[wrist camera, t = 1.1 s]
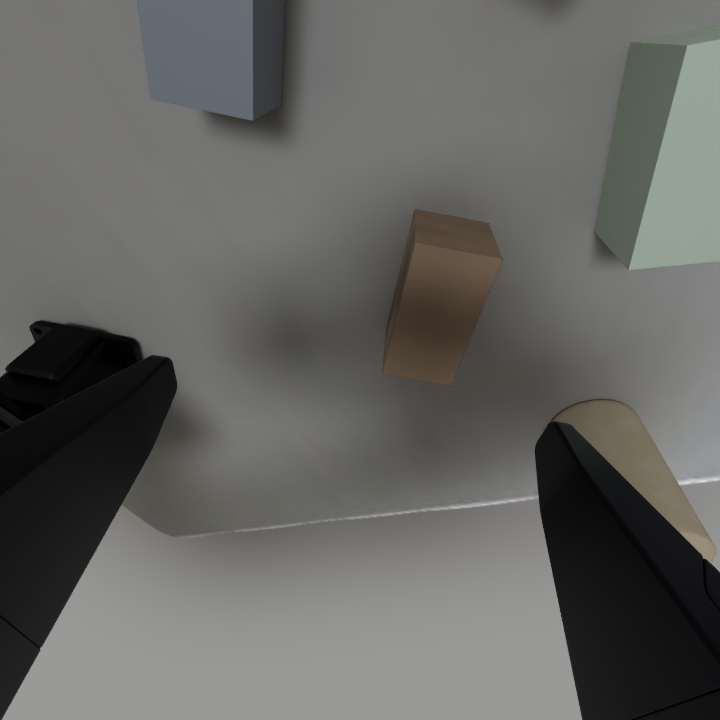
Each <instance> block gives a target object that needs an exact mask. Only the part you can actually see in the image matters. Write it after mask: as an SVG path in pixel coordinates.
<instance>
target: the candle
mask: <svg viewBox="0 0 720 720" xmlns="http://www.w3.org/2000/svg"><path fill="white" fill-rule="evenodd" d="M552 421H558V422H564V423H568V424H571V425H572V426H573V427H574V428H575V429H576V430H577V431H578V432H579V433H580V434H581V435H582V436H583V437H584V438H585V439H586V440H587V441H588V442H589V443H590V444H591V445H592V446H593V447H594V448H595V449H596V450H597V451H598V452H599V453H600V454H601V455H602V456H603V457H604V458H605V459H606V460H607V461H608V462H609V463H610V464H611V465H612V466H613V467H614V468H615V469H616V470H617V471H618V472H619V473H620V474H621V475H622V476H623V477H624V478H625V479H626V480H627V481H628V482H629V483H630V484H631V485H632V486H633V487H634V488H635V489H636V490H637V491H638V492H639V493H640V494H641V495H642V496H643V497H644V498H645V499H646V500H647V501H648V502H649V503H650V504H651V505H652V506H653V507H654V508H655V509H656V510H657V511H658V512H660V513H661V514H662V515H663V516H664V517H665V518H666V519H667V520H668V521H669V522H670V523H671V524H672V525H673V526H674V527H675V528H676V529H677V530H678V531H679V532H680V533H681V534H682V535H683V536H684V537H685V538H686V539H687V540H688V541H689V542H690V543H691V544H692V545H693V546H694V547H695V548H696V549H697V550H698V551H699V552H700V553H701V554H702V556H703V559H707V560H708V561H709V562H710V563H711V564H712V562H713V560H714V557H715V555H716V547H715V545H714V544H713V542H712V540H711V538H710V537H709V535H708V533H707V532H706V530H705V528H704V527H703V525H702V523H701V521H700V520H699V518H698V516H697V515H696V513H695V511H694V510H693V508H692V506H691V504H690V503H689V501H688V499H687V498H686V496H685V495H684V493H683V491H682V489H681V488H680V486H679V484H678V482H677V481H676V479H675V477H674V476H673V474H672V472H671V470H670V469H669V467H668V465H667V464H666V462H665V460H664V459H663V457H662V455H661V453H660V452H659V450H658V448H657V447H656V445H655V443H654V442H653V440H652V438H651V437H650V435H649V433H648V431H647V430H646V428H645V426H644V425H643V423H642V421H641V420H640V418H639V417H638V415H637V414H636V413H635V412H634V411H633V410H632V409H631V408H630V407H629V406H627V405H625V404H623V403H621V402H617V401H612V400H592V401H586V402H582V403H579V404H576V405H573V406H571V407H569V408H567V409H565V410H564V411H562V412H561V413H559V414H558V415H557V416H556V417H555V418H554V419H553V420H552Z"/></svg>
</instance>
